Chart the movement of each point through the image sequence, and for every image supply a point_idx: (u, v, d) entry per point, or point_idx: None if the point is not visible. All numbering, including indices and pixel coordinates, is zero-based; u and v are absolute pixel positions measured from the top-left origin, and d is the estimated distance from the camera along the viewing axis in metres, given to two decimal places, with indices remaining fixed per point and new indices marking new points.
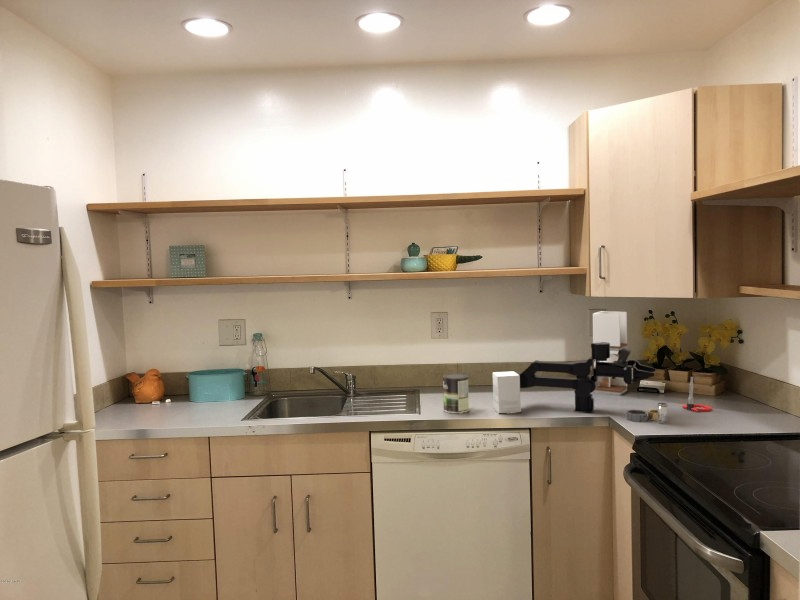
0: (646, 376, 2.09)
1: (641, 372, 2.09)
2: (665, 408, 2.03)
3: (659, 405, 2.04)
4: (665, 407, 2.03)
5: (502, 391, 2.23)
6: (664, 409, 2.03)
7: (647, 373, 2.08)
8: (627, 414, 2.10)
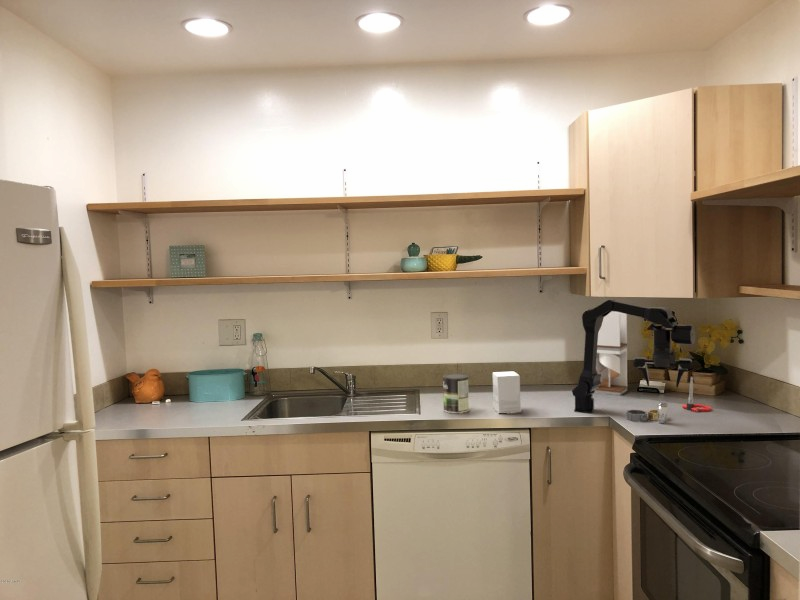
0: None
1: None
2: (665, 408, 2.03)
3: (659, 405, 2.04)
4: (665, 407, 2.03)
5: (502, 391, 2.23)
6: (664, 409, 2.03)
7: None
8: (627, 414, 2.10)
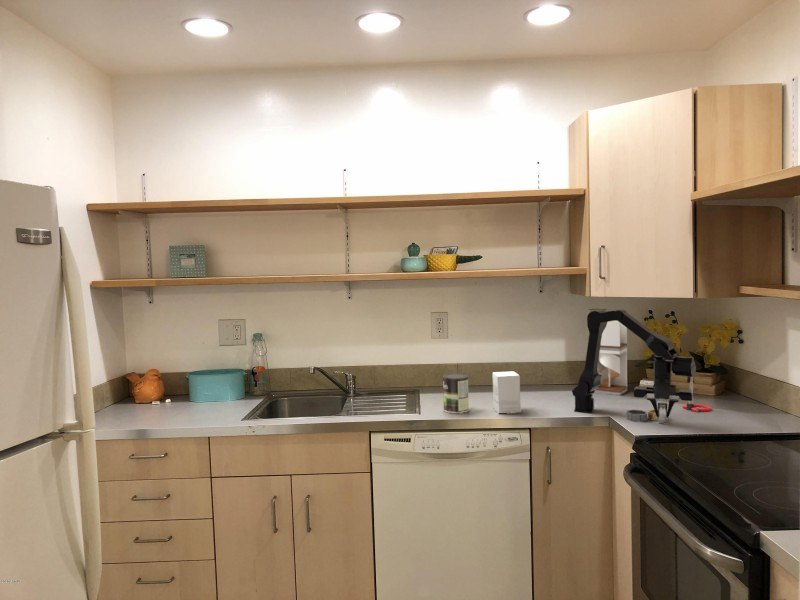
0: None
1: None
2: (665, 408, 2.03)
3: (659, 405, 2.04)
4: (665, 407, 2.03)
5: (502, 391, 2.23)
6: (664, 409, 2.03)
7: None
8: (627, 414, 2.10)
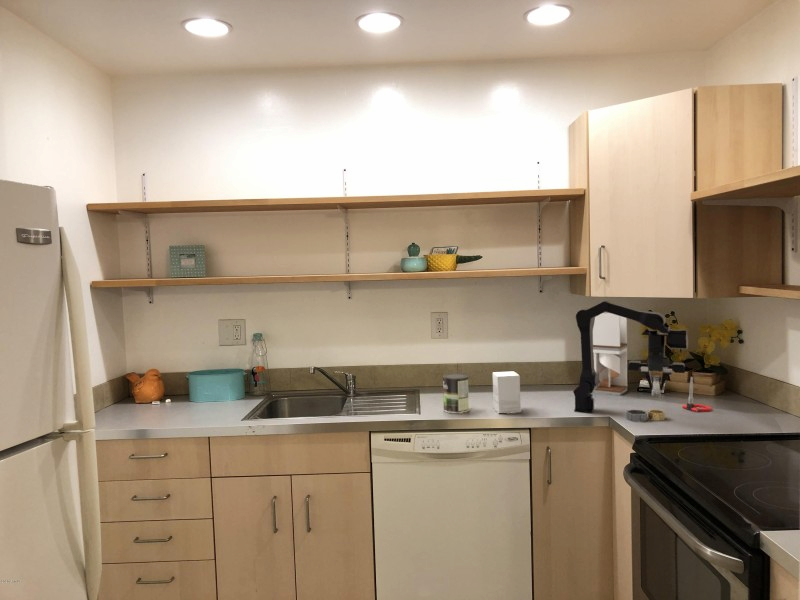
0: None
1: None
2: (658, 381, 2.08)
3: (653, 378, 2.09)
4: (658, 380, 2.08)
5: (502, 391, 2.23)
6: (657, 382, 2.08)
7: (648, 383, 2.10)
8: (627, 414, 2.10)
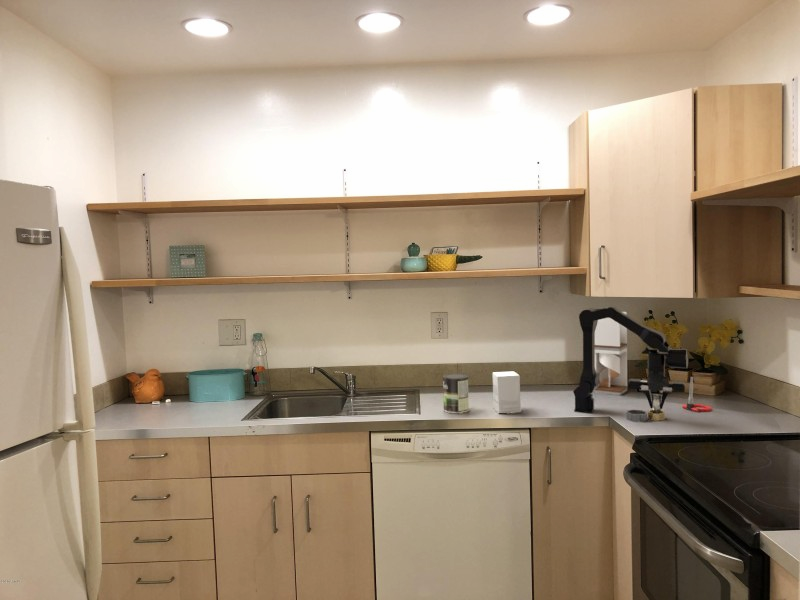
0: None
1: None
2: (659, 399, 2.09)
3: (653, 396, 2.09)
4: (659, 398, 2.09)
5: (502, 391, 2.23)
6: (657, 400, 2.09)
7: None
8: (627, 414, 2.10)
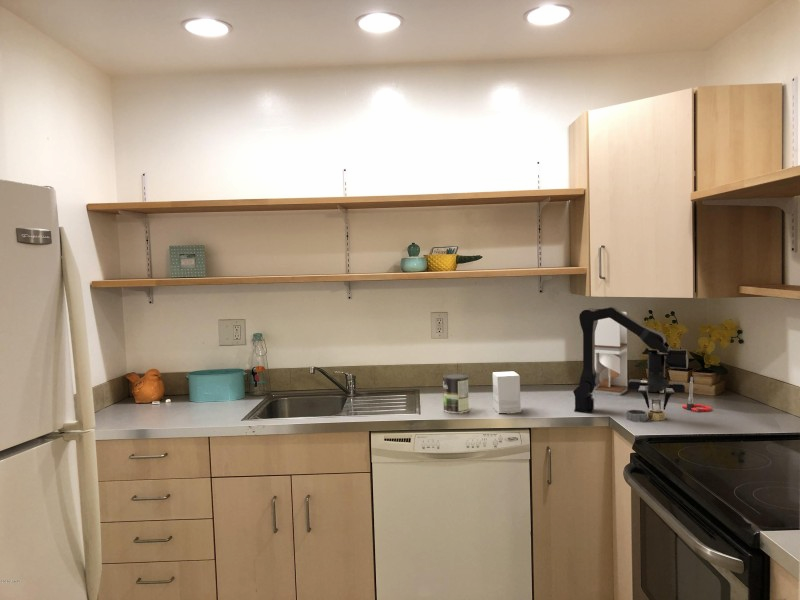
0: None
1: None
2: (658, 404, 2.09)
3: (653, 401, 2.10)
4: (658, 403, 2.09)
5: (502, 391, 2.23)
6: (657, 405, 2.09)
7: (646, 402, 2.11)
8: (627, 414, 2.10)
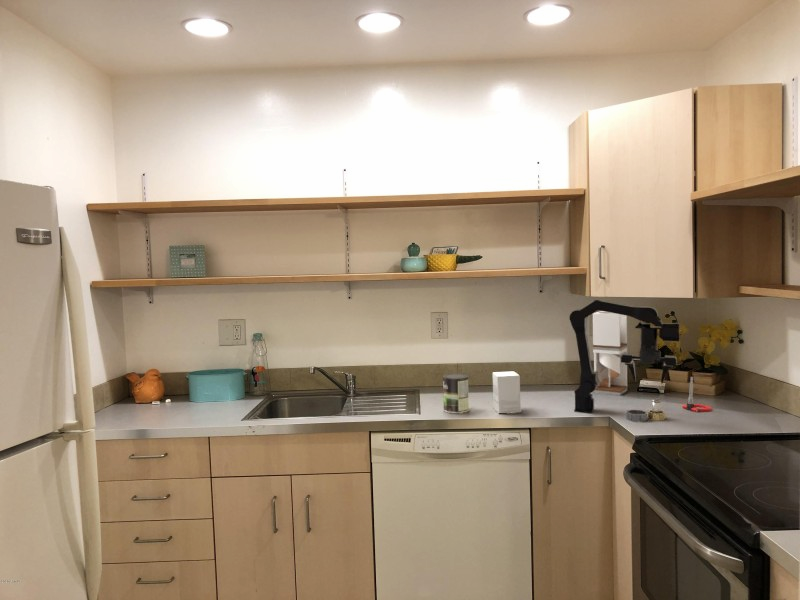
0: None
1: None
2: (659, 404, 2.09)
3: (653, 401, 2.10)
4: (659, 403, 2.09)
5: (502, 391, 2.23)
6: (657, 405, 2.09)
7: (632, 375, 2.15)
8: (627, 414, 2.10)
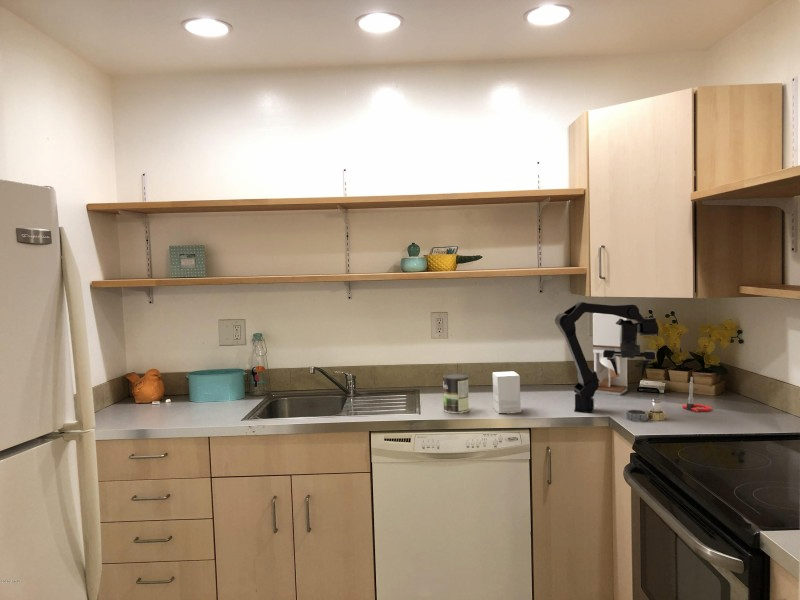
0: None
1: None
2: (659, 404, 2.09)
3: (653, 401, 2.10)
4: (659, 403, 2.09)
5: (502, 391, 2.23)
6: (657, 405, 2.09)
7: (614, 369, 2.26)
8: (627, 414, 2.10)
